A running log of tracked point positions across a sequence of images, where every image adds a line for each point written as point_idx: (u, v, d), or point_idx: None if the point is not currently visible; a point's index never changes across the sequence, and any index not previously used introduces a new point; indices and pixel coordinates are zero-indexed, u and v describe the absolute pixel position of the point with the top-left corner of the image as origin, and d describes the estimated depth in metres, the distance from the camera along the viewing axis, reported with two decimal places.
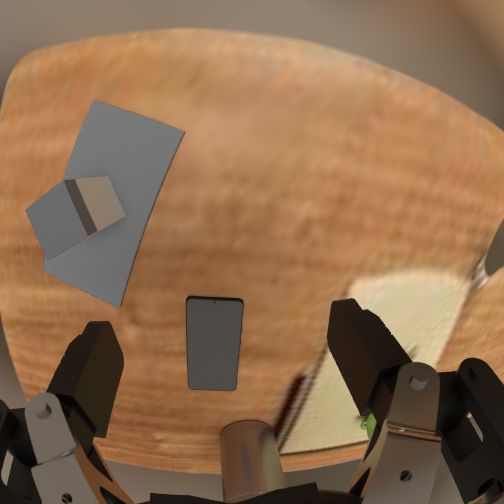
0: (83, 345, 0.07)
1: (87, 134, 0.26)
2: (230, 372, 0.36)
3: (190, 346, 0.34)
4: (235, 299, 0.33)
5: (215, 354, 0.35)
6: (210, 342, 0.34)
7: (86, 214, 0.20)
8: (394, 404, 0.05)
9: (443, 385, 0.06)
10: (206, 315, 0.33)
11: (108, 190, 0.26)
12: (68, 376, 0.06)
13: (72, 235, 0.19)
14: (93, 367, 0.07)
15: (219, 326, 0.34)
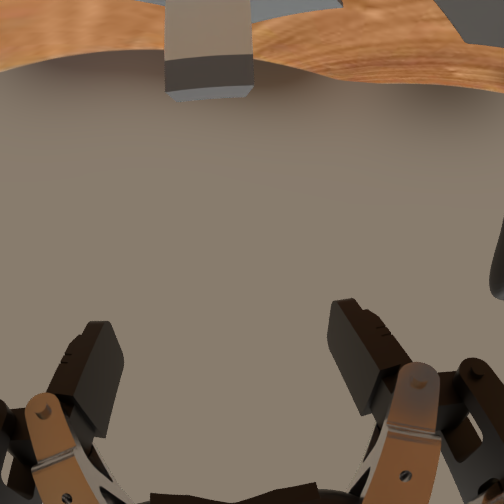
0: (83, 345, 0.07)
1: None
2: None
3: (450, 16, 0.13)
4: None
5: (483, 22, 0.11)
6: (473, 13, 0.10)
7: (223, 64, 0.13)
8: (394, 404, 0.05)
9: (443, 385, 0.06)
10: None
11: None
12: (68, 376, 0.06)
13: (239, 89, 0.15)
14: (93, 367, 0.07)
15: (477, 1, 0.08)
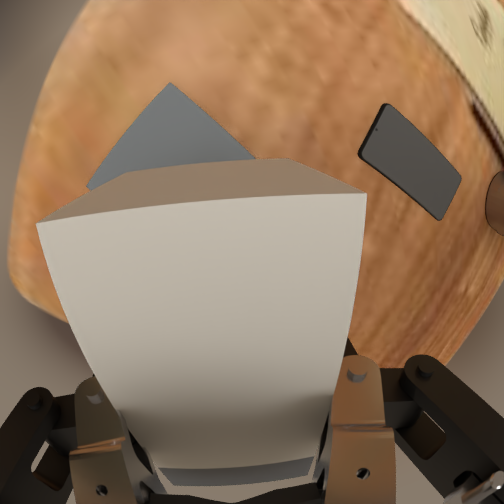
0: None
1: None
2: (445, 167, 0.26)
3: (406, 186, 0.27)
4: (382, 108, 0.23)
5: (424, 167, 0.26)
6: (411, 163, 0.26)
7: (262, 471, 0.07)
8: (335, 402, 0.05)
9: (388, 381, 0.06)
10: (385, 147, 0.25)
11: (151, 313, 0.04)
12: None
13: None
14: None
15: (401, 142, 0.25)
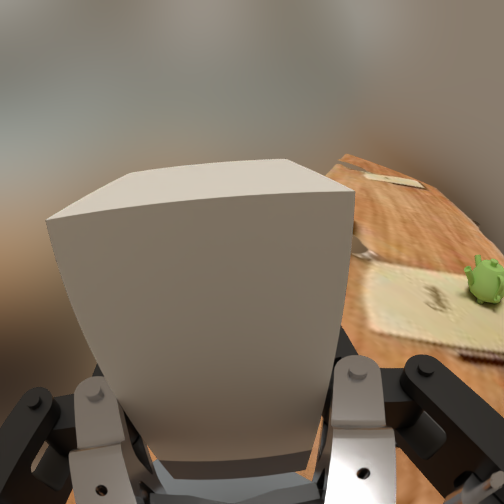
0: None
1: None
2: None
3: None
4: None
5: None
6: None
7: (260, 464, 0.07)
8: (335, 402, 0.05)
9: (389, 381, 0.06)
10: None
11: (153, 304, 0.05)
12: None
13: None
14: None
15: None
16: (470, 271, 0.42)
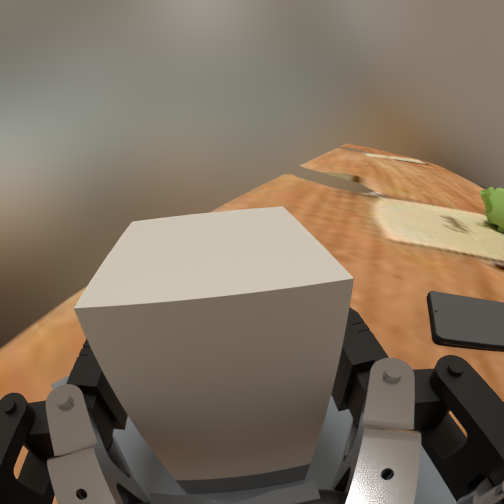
0: None
1: None
2: None
3: None
4: (428, 297, 0.21)
5: None
6: (493, 322, 0.16)
7: (266, 477, 0.08)
8: (368, 402, 0.05)
9: (420, 382, 0.06)
10: (456, 320, 0.17)
11: (180, 372, 0.05)
12: (90, 367, 0.06)
13: None
14: None
15: (468, 311, 0.18)
16: (486, 194, 0.36)
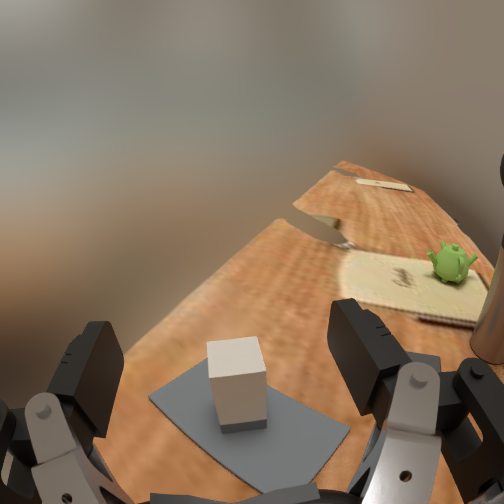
0: (83, 345, 0.07)
1: (172, 408, 0.30)
2: (418, 357, 0.35)
3: None
4: None
5: None
6: None
7: (251, 424, 0.26)
8: (394, 404, 0.05)
9: (443, 385, 0.06)
10: None
11: (229, 387, 0.23)
12: (68, 376, 0.06)
13: None
14: (93, 367, 0.07)
15: None
16: (432, 254, 0.54)
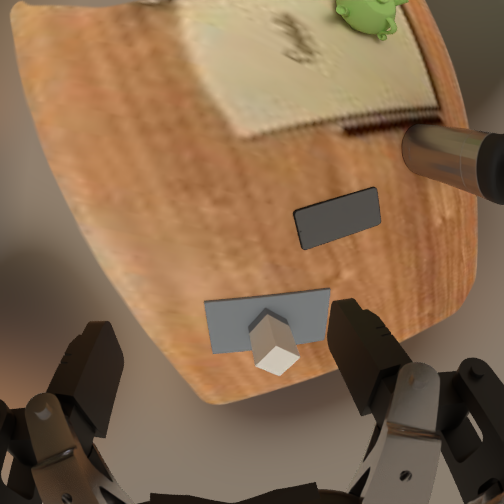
0: (83, 345, 0.07)
1: (232, 347, 0.52)
2: (358, 198, 0.43)
3: (341, 235, 0.45)
4: (294, 217, 0.43)
5: (344, 215, 0.44)
6: (334, 222, 0.44)
7: None
8: (394, 404, 0.05)
9: (443, 385, 0.06)
10: (312, 233, 0.44)
11: None
12: (68, 376, 0.06)
13: None
14: (93, 367, 0.07)
15: (319, 221, 0.44)
16: (346, 13, 0.26)
